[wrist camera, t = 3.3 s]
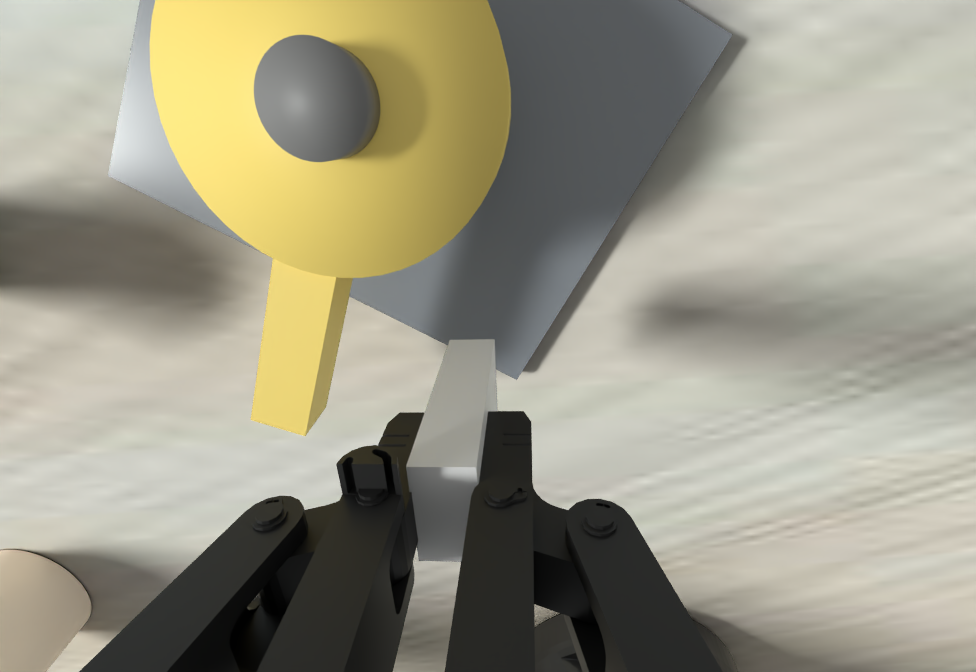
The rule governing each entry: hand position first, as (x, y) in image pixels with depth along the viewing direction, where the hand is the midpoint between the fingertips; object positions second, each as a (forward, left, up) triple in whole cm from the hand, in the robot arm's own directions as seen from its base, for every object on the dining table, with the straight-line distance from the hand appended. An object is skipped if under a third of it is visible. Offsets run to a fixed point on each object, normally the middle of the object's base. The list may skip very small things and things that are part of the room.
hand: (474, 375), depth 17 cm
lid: (+7, -3, -2) cm, 7 cm away
